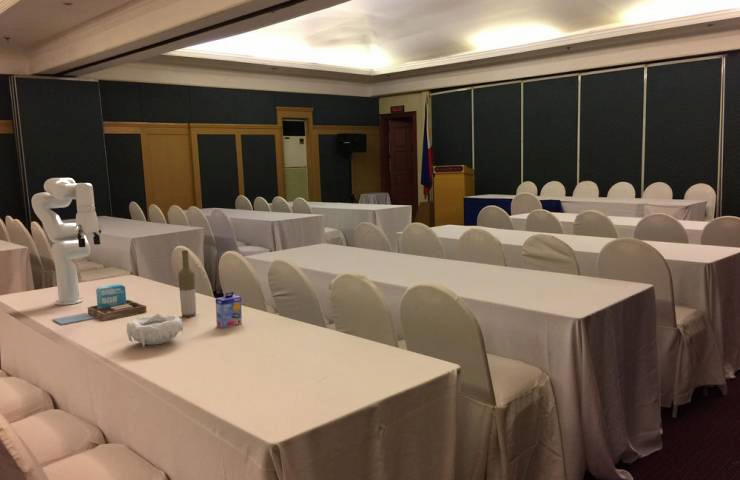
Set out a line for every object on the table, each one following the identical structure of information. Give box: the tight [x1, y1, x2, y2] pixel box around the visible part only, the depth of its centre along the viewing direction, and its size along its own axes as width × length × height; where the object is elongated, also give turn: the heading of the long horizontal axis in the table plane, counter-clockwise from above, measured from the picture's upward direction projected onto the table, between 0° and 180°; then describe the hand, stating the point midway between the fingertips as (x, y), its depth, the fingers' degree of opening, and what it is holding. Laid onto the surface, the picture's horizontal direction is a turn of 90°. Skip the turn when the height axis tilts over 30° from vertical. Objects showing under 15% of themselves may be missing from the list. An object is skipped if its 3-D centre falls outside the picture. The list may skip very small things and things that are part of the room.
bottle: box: [177, 249, 197, 318], centre depth 266 cm, size 7×7×30 cm
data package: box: [95, 283, 127, 309], centre depth 280 cm, size 12×4×12 cm, turn 133°
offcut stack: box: [107, 304, 133, 313], centre depth 273 cm, size 7×10×4 cm
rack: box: [87, 299, 148, 321], centre depth 276 cm, size 19×20×3 cm
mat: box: [51, 312, 96, 326], centre depth 265 cm, size 12×14×1 cm
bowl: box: [126, 313, 184, 348], centre depth 227 cm, size 21×20×10 cm
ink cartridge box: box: [215, 291, 243, 329], centre depth 250 cm, size 10×6×14 cm, turn 136°
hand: (89, 245), depth 277 cm, fingers open, 9 cm apart
